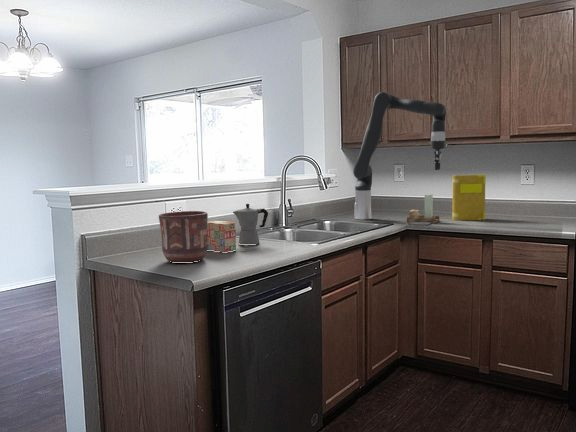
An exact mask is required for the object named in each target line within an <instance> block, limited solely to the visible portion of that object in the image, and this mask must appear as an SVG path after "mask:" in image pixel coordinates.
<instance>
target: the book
mask: <svg viewBox="0 0 576 432" xmlns="http://www.w3.org/2000/svg"><path fill="white" fill-rule="evenodd" d="M486 176H487V175H486V174H462V175H461V174H459V175H457V174H455V175H452V212H451V213H452V214H451V215H452V217H451V219H452V221H482V220H481V219H485V220H486Z"/></svg>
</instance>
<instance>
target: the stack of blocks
mask: <svg viewBox="0 0 576 432" xmlns="http://www.w3.org/2000/svg"><path fill="white" fill-rule="evenodd" d="M236 232H237V231H236V222H233V221H229V220H228V221H227V220H210V221H207V239H208V250H214V251H220V252H228V251H233V250H236V251H237V244H236V243H237V241H236V238H237V234H236Z"/></svg>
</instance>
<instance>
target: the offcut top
mask: <svg viewBox="0 0 576 432" xmlns="http://www.w3.org/2000/svg"><path fill="white" fill-rule="evenodd" d="M419 214H420V209H411V210H409V211H408V217H409V216H417V215H419Z"/></svg>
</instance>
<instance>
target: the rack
mask: <svg viewBox="0 0 576 432" xmlns="http://www.w3.org/2000/svg"><path fill="white" fill-rule="evenodd" d="M412 222H427V223H431V224H433V225H435V224H437V223H438V222H440V215H433V217H432V218H425V214H424V215H423V214H422V215H421V214H420V217H409V216H407V217H406V223H408V224H409V223H412Z"/></svg>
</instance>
